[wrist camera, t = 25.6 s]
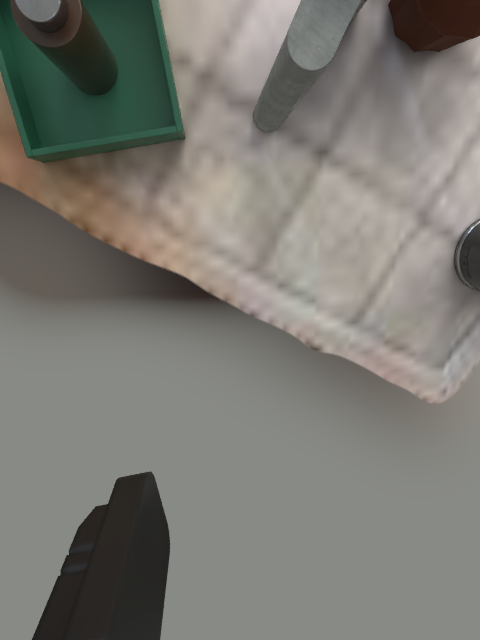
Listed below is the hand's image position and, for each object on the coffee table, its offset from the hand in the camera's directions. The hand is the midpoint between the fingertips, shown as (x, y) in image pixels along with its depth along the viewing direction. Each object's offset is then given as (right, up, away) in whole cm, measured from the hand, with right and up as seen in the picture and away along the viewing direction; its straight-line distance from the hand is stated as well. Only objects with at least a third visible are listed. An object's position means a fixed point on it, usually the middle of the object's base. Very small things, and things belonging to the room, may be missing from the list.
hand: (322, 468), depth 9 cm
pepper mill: (-17, +28, +28) cm, 43 cm away
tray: (-17, +29, +28) cm, 43 cm away
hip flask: (+4, +31, +30) cm, 43 cm away
